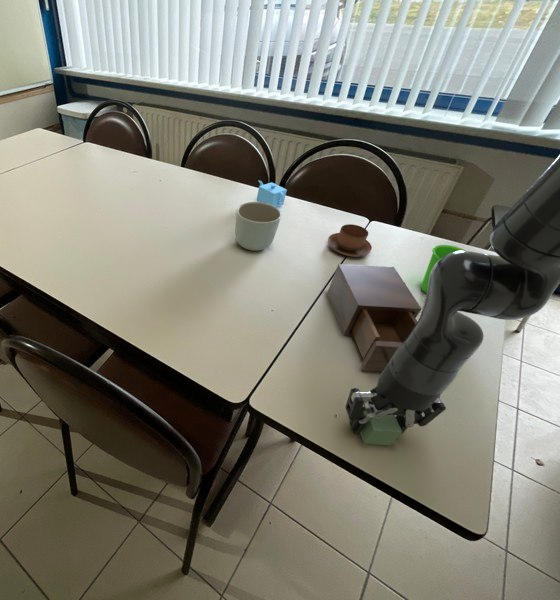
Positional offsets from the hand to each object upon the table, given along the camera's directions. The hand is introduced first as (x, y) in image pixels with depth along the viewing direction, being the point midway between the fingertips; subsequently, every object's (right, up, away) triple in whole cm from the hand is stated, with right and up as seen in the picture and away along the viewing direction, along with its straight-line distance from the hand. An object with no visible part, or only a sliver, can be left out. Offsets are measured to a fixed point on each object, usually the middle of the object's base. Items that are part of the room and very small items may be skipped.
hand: (373, 430), depth 65 cm
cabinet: (+11, +20, +23) cm, 32 cm away
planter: (-10, +40, +46) cm, 62 cm away
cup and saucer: (+18, +38, +44) cm, 61 cm away
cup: (+33, +25, +30) cm, 51 cm away
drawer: (+10, +11, +12) cm, 19 cm away
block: (0, 0, 0) cm, 1 cm away
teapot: (+1, +57, +66) cm, 87 cm away
